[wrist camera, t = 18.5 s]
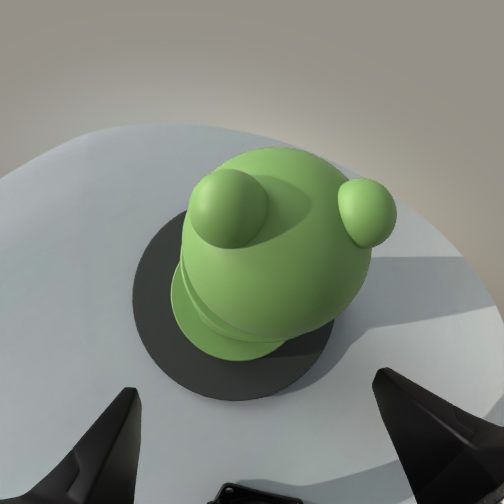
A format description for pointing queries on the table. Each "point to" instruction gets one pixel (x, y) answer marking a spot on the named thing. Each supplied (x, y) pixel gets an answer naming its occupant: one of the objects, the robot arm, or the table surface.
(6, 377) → the table surface
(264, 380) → the mat
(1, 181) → the table surface
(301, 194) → the toy
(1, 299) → the table surface
